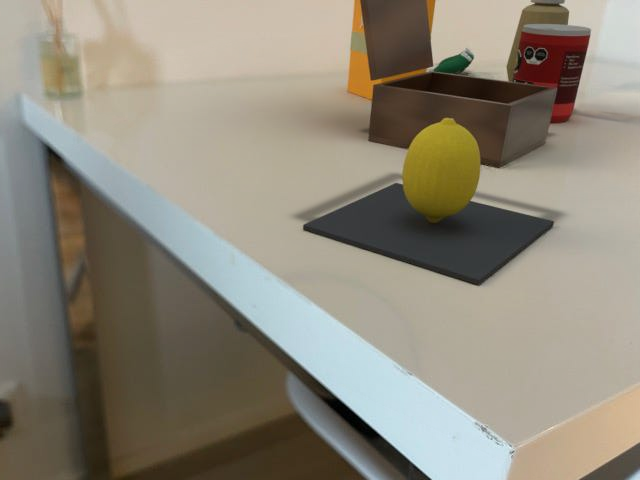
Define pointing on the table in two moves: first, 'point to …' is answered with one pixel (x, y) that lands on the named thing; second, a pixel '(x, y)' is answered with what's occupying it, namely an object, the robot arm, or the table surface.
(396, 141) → the chest
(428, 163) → the lemon
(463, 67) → the green rounded piece
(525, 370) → the table surface
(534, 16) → the squeeze bottle
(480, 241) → the mat
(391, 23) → the lid
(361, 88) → the orange juice
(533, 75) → the canned food
